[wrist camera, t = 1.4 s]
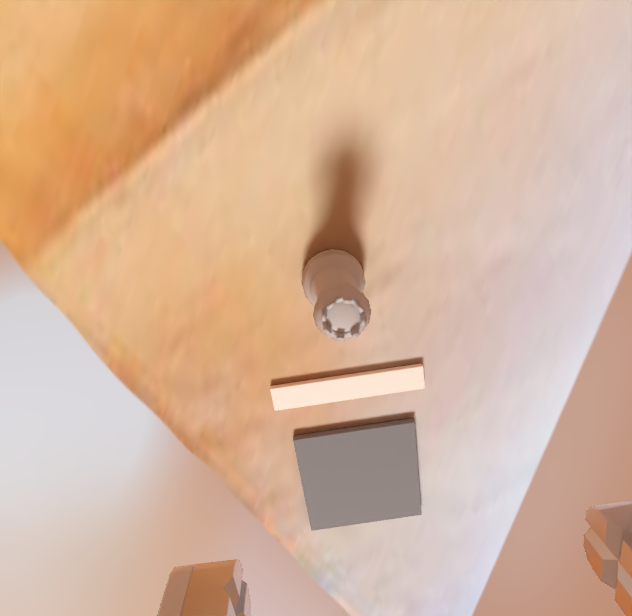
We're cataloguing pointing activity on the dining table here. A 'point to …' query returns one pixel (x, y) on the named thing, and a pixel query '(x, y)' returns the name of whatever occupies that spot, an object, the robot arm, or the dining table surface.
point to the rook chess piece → (337, 294)
